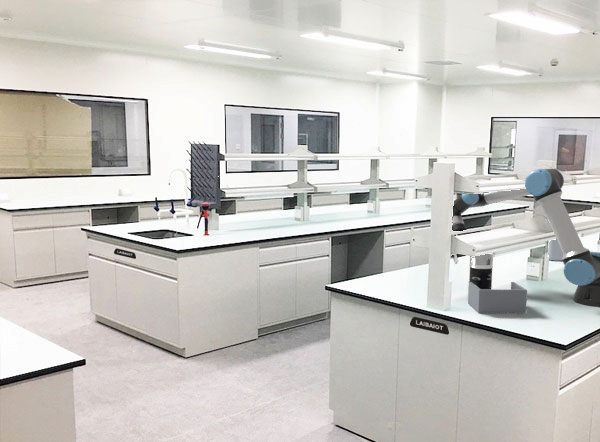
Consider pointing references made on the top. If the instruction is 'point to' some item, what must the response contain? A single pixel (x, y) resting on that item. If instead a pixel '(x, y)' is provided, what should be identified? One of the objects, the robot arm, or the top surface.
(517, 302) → the box
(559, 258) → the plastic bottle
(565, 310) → the top surface
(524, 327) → the top surface
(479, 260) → the silver and black canister
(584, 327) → the top surface
